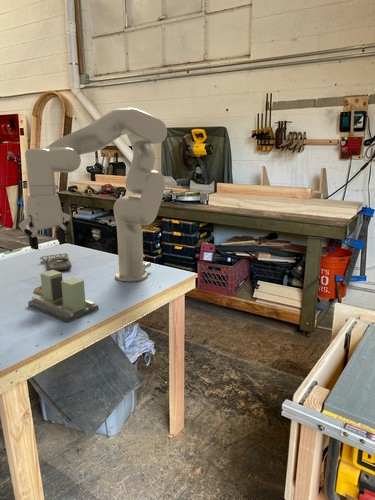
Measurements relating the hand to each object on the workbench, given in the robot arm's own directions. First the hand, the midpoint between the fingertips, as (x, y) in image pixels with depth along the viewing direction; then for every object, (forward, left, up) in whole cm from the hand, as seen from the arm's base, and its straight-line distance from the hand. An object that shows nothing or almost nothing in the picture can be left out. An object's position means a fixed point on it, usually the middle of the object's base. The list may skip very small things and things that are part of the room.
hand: (48, 245), depth 118 cm
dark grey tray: (0, +5, -20) cm, 20 cm away
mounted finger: (0, +11, -18) cm, 21 cm away
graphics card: (-24, -32, -21) cm, 45 cm away
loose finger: (0, 0, -18) cm, 18 cm away
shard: (-6, -13, -21) cm, 25 cm away
